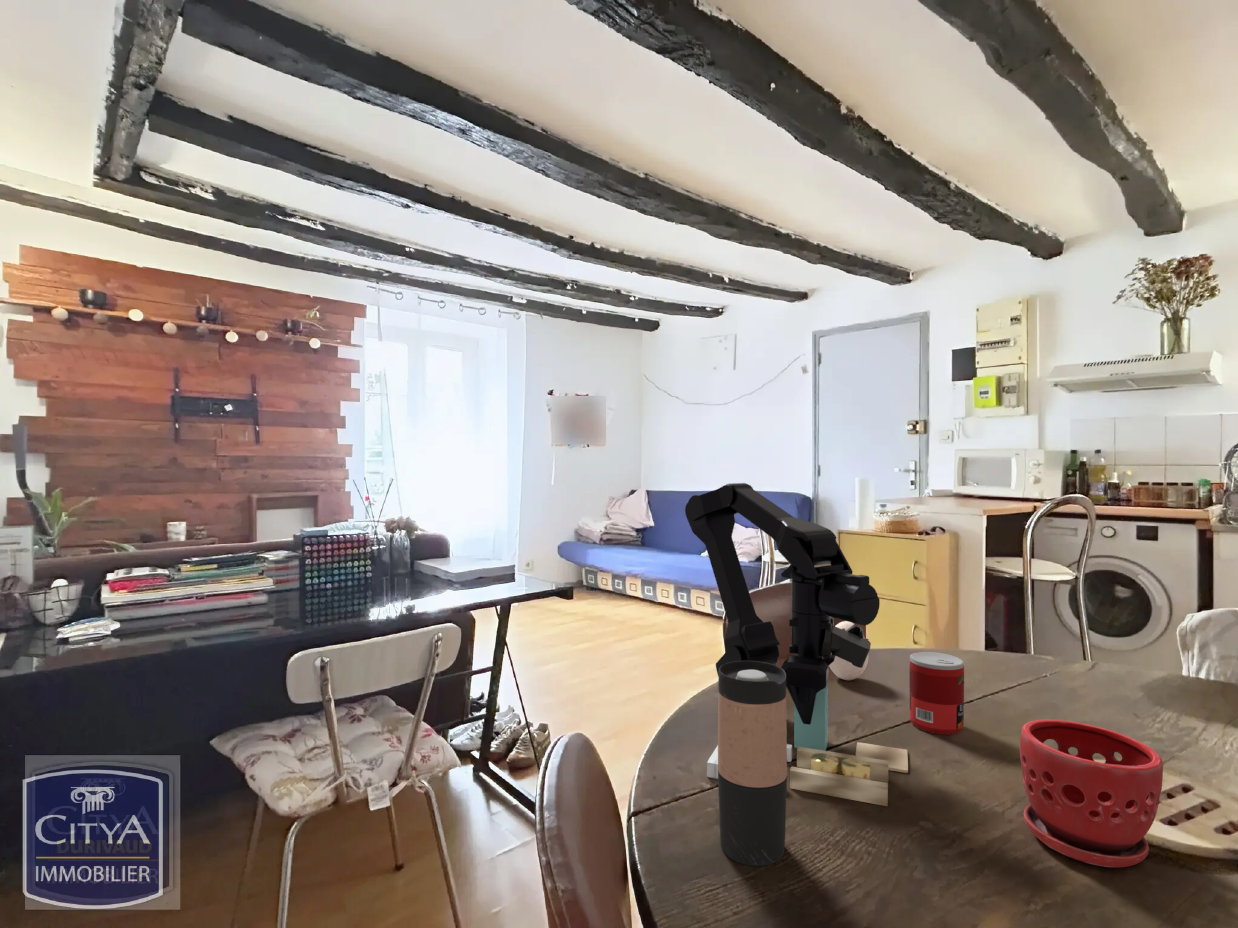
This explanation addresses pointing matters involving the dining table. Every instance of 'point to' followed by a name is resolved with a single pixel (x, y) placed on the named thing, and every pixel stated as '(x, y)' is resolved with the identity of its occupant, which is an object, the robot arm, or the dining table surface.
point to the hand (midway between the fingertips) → (810, 712)
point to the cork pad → (885, 755)
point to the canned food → (937, 692)
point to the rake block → (813, 725)
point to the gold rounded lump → (824, 763)
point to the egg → (846, 662)
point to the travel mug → (752, 761)
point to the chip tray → (713, 762)
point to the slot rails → (841, 778)
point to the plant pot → (1090, 791)
